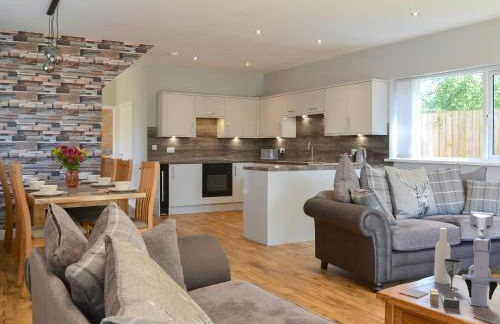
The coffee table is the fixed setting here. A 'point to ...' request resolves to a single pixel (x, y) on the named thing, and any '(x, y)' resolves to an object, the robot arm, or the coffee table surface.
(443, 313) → the coffee table surface
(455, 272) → the wine glass
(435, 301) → the tan wooden block
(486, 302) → the robot arm
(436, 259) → the bottle
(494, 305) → the coffee table surface
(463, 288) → the coffee table surface
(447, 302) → the endcap rail
